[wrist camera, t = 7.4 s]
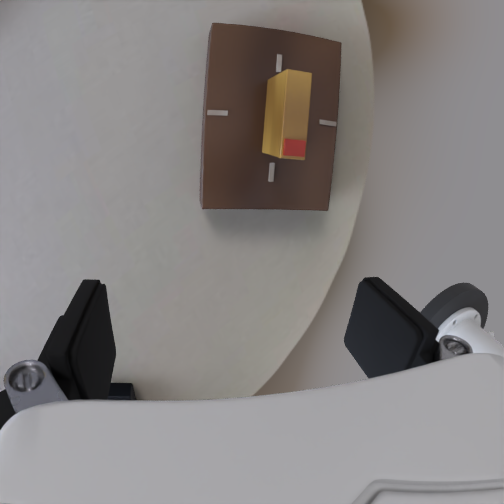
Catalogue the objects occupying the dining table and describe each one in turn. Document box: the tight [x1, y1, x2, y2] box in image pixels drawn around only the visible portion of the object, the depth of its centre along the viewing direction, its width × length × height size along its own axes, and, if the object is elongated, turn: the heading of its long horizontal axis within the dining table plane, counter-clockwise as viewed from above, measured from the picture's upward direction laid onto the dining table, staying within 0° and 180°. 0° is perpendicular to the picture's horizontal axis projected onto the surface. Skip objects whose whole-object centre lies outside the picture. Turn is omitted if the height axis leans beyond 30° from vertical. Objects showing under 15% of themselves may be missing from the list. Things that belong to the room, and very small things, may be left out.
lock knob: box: [262, 69, 312, 160], centre depth 19 cm, size 6×2×5 cm, turn 176°
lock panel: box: [200, 23, 341, 211], centre depth 22 cm, size 10×14×3 cm
